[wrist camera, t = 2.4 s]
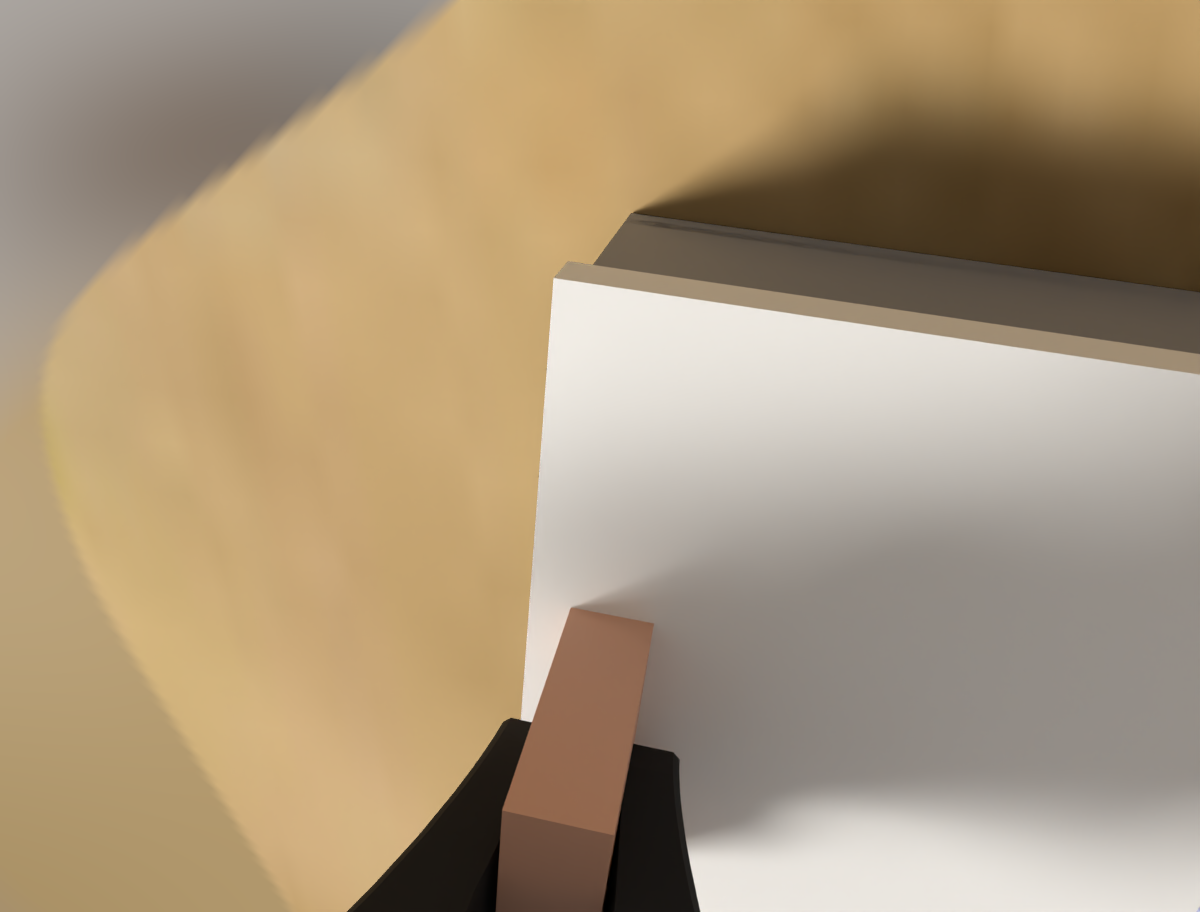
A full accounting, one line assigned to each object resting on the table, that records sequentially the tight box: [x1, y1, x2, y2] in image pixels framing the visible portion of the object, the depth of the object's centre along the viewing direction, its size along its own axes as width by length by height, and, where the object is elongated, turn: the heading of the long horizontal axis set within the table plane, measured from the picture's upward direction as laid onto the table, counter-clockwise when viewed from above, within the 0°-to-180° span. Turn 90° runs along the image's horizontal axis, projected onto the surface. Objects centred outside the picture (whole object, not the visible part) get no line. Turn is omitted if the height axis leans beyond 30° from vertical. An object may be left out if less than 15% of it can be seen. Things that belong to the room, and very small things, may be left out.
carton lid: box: [496, 261, 1200, 912], centre depth 11 cm, size 10×14×4 cm
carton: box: [593, 213, 1200, 354], centre depth 15 cm, size 10×14×4 cm
